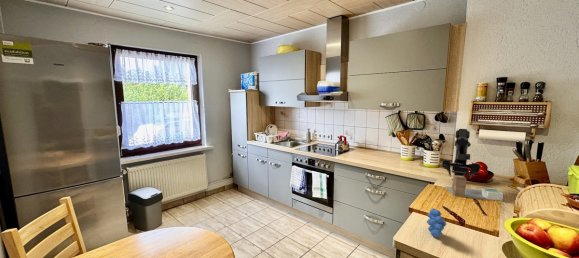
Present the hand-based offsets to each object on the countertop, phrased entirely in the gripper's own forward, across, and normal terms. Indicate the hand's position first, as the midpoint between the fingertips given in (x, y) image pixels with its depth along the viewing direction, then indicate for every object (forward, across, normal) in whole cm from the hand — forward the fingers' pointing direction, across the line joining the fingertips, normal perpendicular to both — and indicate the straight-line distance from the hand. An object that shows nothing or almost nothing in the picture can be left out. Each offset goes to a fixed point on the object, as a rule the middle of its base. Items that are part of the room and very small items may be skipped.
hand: (459, 177), depth 143 cm
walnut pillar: (+9, 0, +5) cm, 10 cm away
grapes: (+50, -7, -35) cm, 62 cm away
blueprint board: (+4, +7, +11) cm, 13 cm away
